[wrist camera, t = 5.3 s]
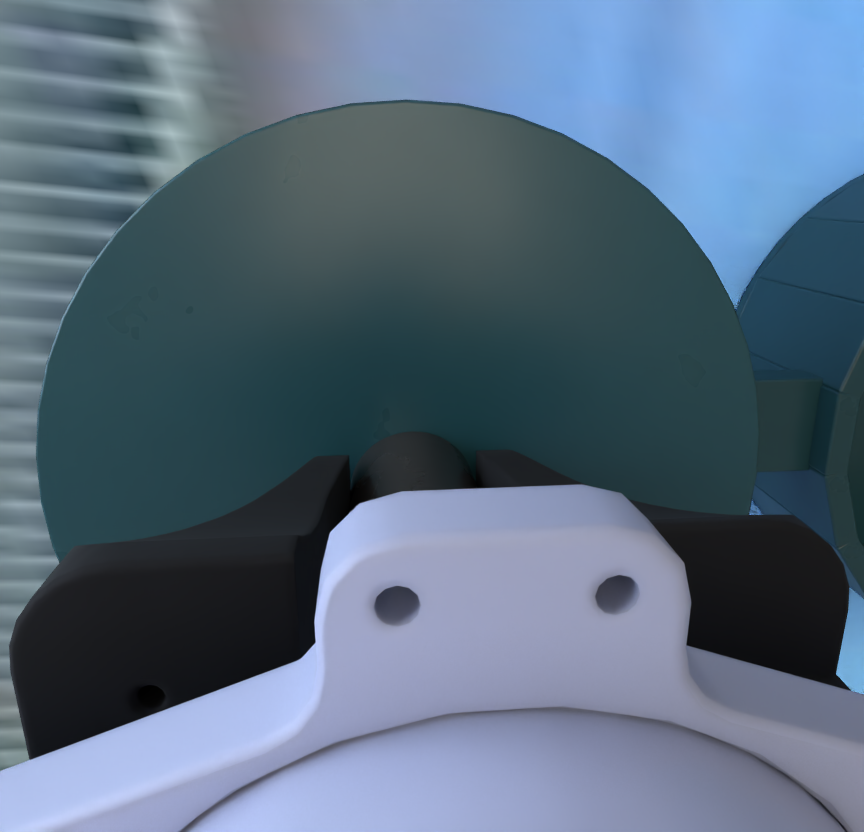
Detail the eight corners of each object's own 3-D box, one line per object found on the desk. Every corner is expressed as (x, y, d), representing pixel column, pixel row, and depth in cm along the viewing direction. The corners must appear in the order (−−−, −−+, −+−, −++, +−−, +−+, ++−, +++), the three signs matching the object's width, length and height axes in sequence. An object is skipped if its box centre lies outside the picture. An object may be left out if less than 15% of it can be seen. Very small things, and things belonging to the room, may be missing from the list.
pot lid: (698, 722, 18) (795, 881, 14) (111, 760, 17) (29, 945, 13) (777, 106, 14) (951, 73, 10) (-2, 104, 13) (-181, 68, 8)
